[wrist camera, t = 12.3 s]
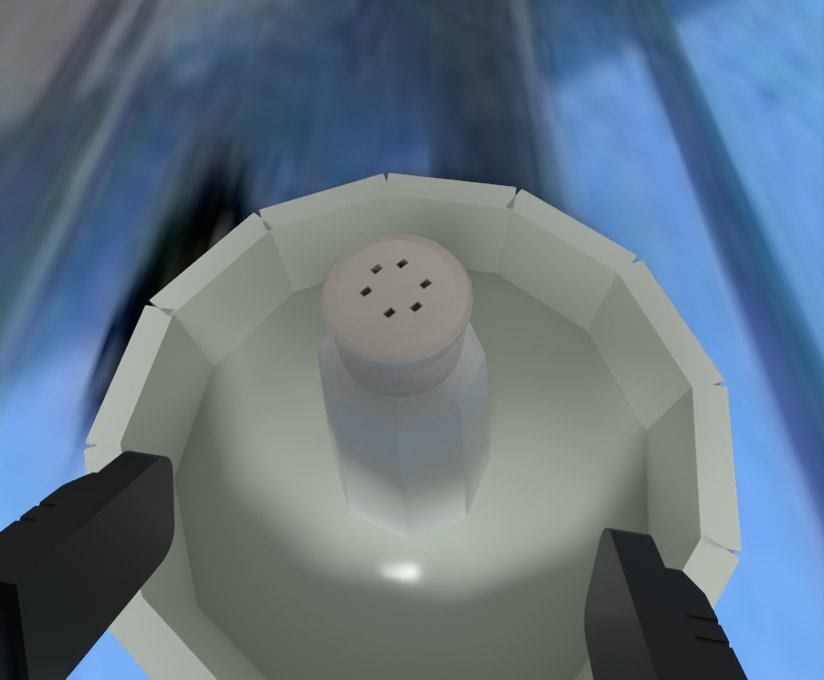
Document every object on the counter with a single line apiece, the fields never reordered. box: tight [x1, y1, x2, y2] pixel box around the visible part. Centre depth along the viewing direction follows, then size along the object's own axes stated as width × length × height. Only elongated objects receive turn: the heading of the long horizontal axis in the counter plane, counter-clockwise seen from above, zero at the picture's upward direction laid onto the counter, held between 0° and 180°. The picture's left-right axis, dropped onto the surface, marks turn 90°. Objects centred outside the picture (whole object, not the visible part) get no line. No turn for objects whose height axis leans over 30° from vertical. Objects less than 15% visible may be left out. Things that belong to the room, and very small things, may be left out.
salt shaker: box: [319, 233, 489, 540], centre depth 15 cm, size 5×5×11 cm
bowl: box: [84, 173, 742, 680], centre depth 19 cm, size 18×18×5 cm
